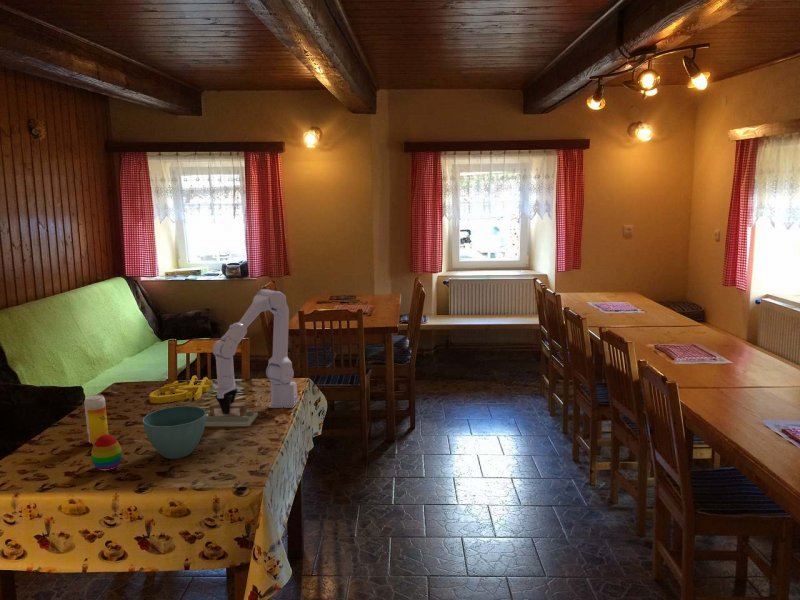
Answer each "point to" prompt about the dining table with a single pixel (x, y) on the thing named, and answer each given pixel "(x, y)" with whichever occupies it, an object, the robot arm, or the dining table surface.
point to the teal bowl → (175, 430)
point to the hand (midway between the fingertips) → (227, 411)
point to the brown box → (235, 409)
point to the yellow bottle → (95, 417)
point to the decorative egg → (106, 452)
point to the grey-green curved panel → (231, 420)
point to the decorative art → (181, 391)
